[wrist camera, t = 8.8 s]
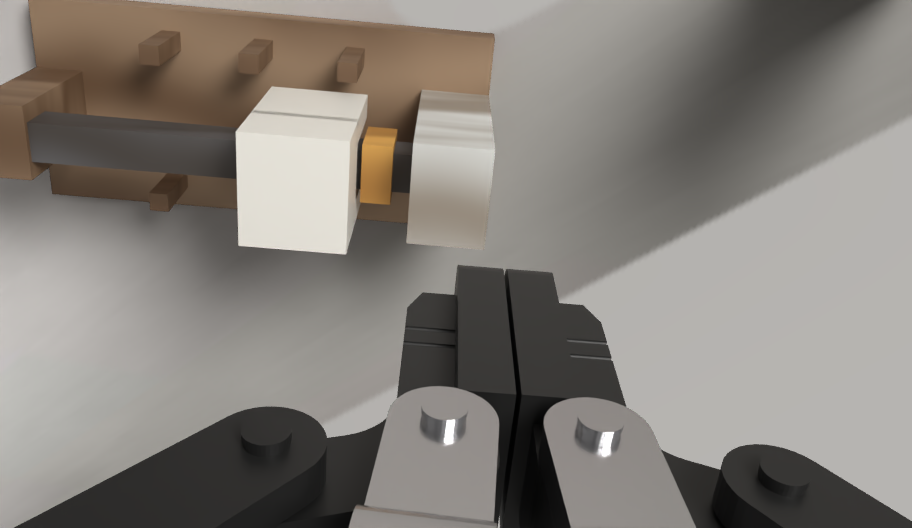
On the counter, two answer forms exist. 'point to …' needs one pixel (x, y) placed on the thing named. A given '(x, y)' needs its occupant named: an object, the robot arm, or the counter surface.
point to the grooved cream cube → (299, 170)
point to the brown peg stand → (249, 107)
